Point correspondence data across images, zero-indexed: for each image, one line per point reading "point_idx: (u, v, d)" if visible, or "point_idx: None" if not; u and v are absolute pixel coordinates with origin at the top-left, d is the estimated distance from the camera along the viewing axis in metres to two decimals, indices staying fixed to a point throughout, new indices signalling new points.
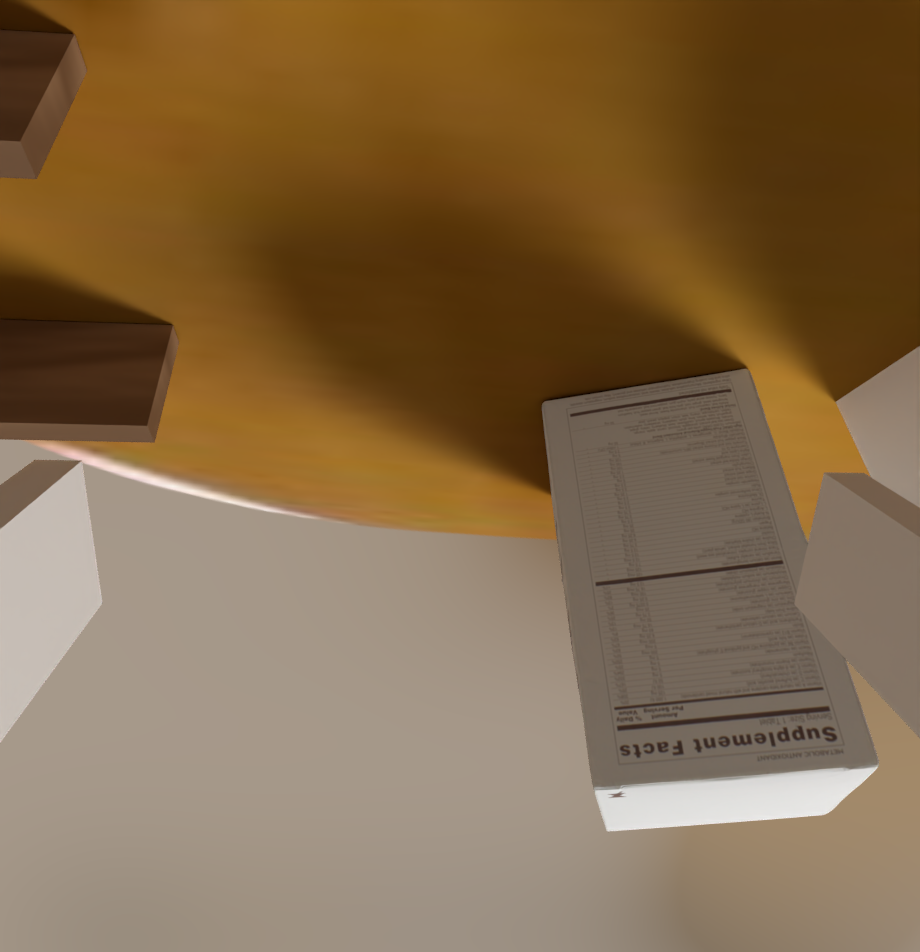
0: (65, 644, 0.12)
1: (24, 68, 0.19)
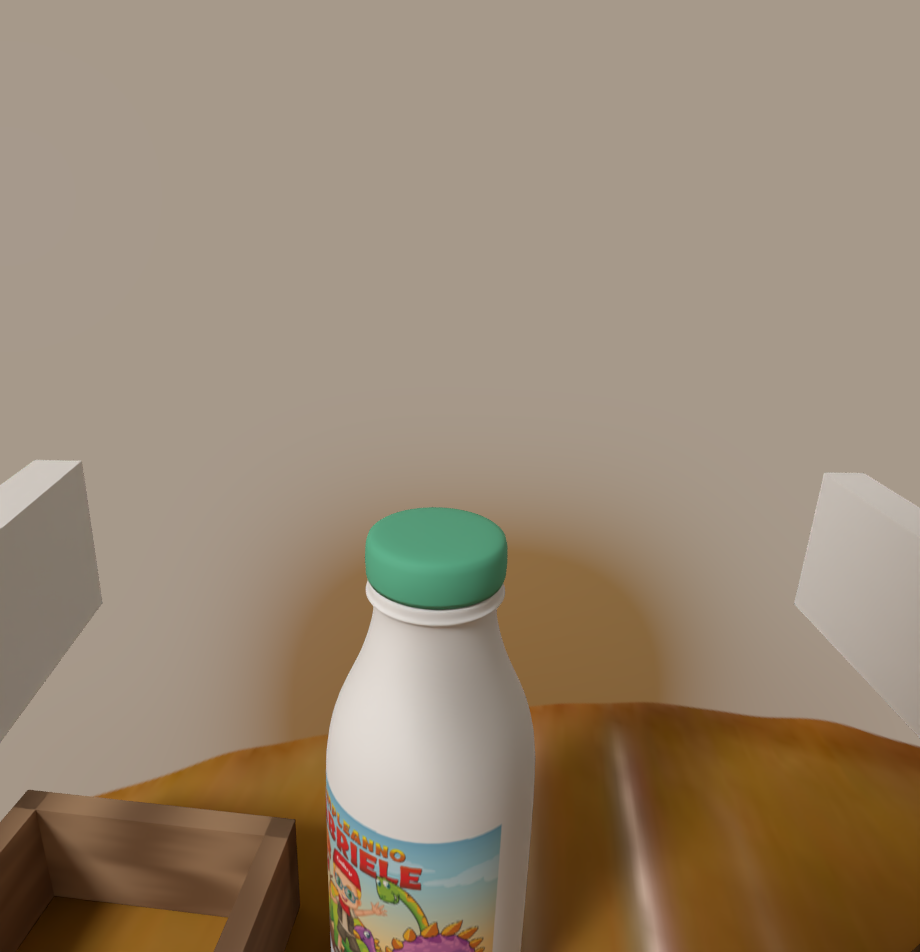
0: (65, 644, 0.12)
1: None
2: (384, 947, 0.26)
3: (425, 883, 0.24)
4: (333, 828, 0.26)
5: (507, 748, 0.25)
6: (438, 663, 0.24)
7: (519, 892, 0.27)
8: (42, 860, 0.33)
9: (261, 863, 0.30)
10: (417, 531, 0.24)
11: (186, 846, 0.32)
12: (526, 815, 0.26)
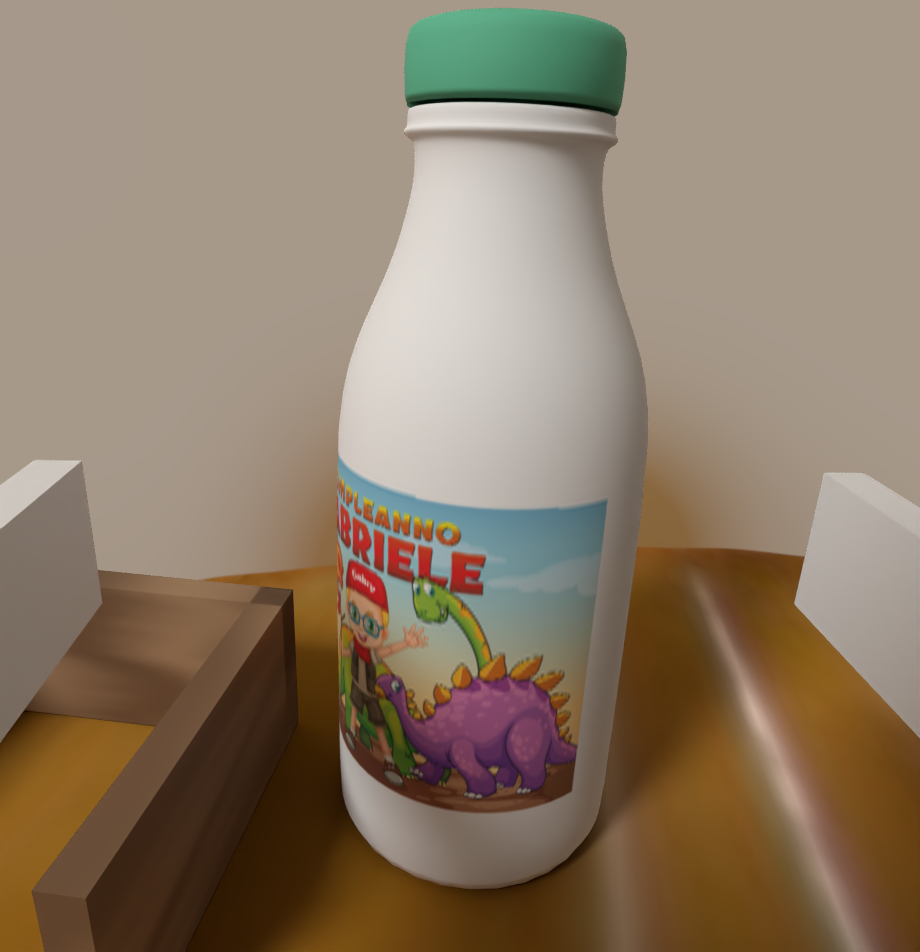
0: (65, 644, 0.12)
1: None
2: (422, 703, 0.17)
3: (490, 582, 0.16)
4: (347, 526, 0.17)
5: (619, 376, 0.16)
6: (517, 216, 0.15)
7: (618, 644, 0.19)
8: None
9: (244, 627, 0.21)
10: None
11: (143, 622, 0.23)
12: (636, 513, 0.17)
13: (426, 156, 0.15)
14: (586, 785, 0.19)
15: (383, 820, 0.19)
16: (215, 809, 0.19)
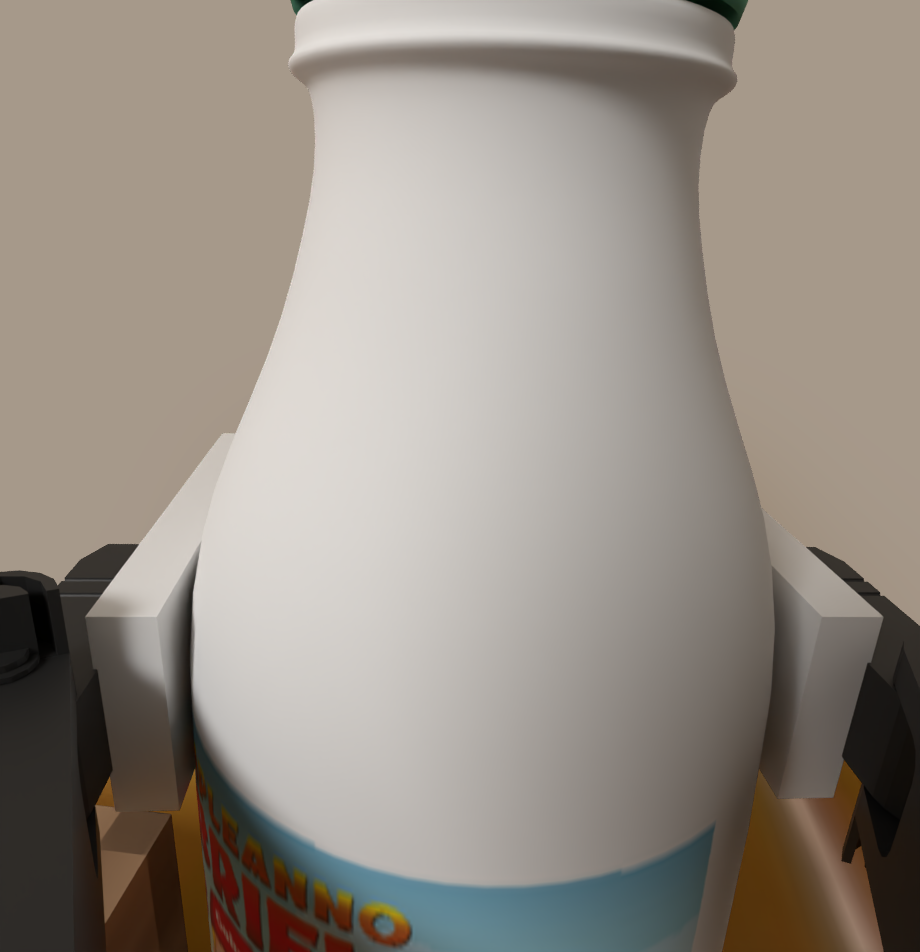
0: None
1: None
2: None
3: None
4: (204, 833, 0.09)
5: (742, 577, 0.08)
6: (531, 248, 0.07)
7: None
8: None
9: None
10: None
11: None
12: None
13: (330, 116, 0.07)
14: None
15: None
16: None
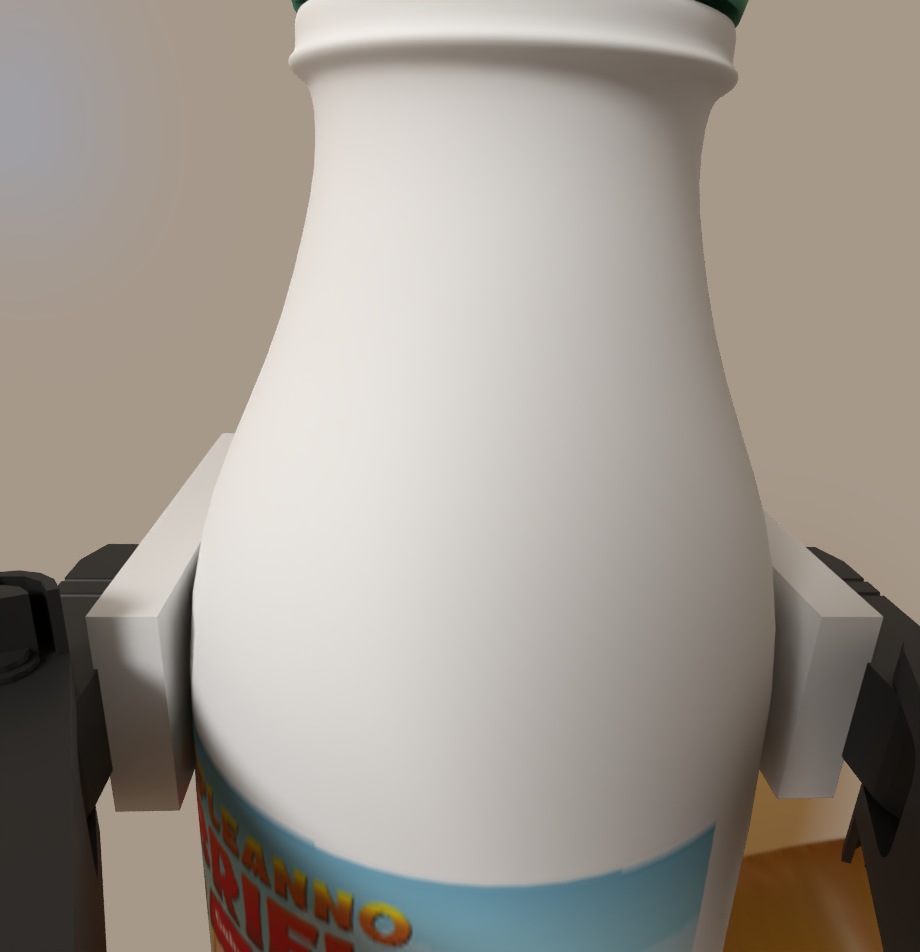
0: None
1: None
2: None
3: None
4: (204, 832, 0.09)
5: (743, 576, 0.08)
6: (532, 246, 0.07)
7: None
8: None
9: None
10: None
11: None
12: (753, 799, 0.09)
13: (330, 114, 0.07)
14: None
15: None
16: None
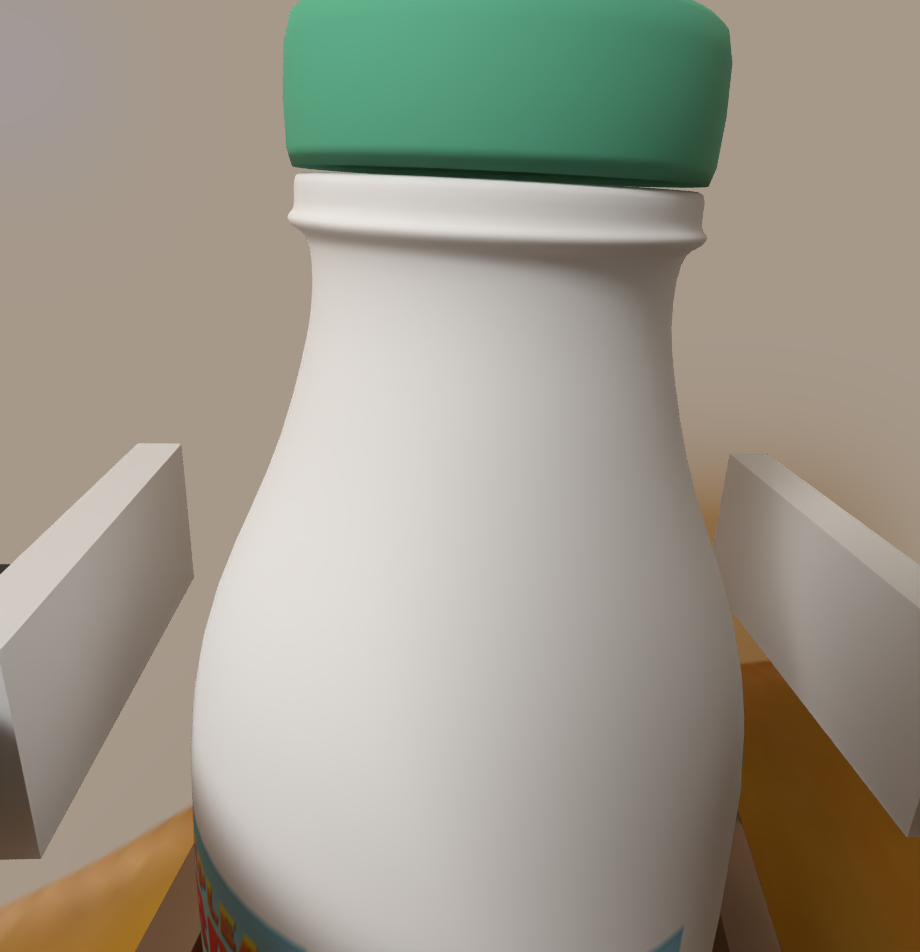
0: (170, 612, 0.13)
1: None
2: None
3: None
4: (203, 919, 0.10)
5: (709, 698, 0.08)
6: (511, 407, 0.07)
7: None
8: None
9: None
10: None
11: None
12: (723, 890, 0.10)
13: (326, 273, 0.08)
14: None
15: None
16: None
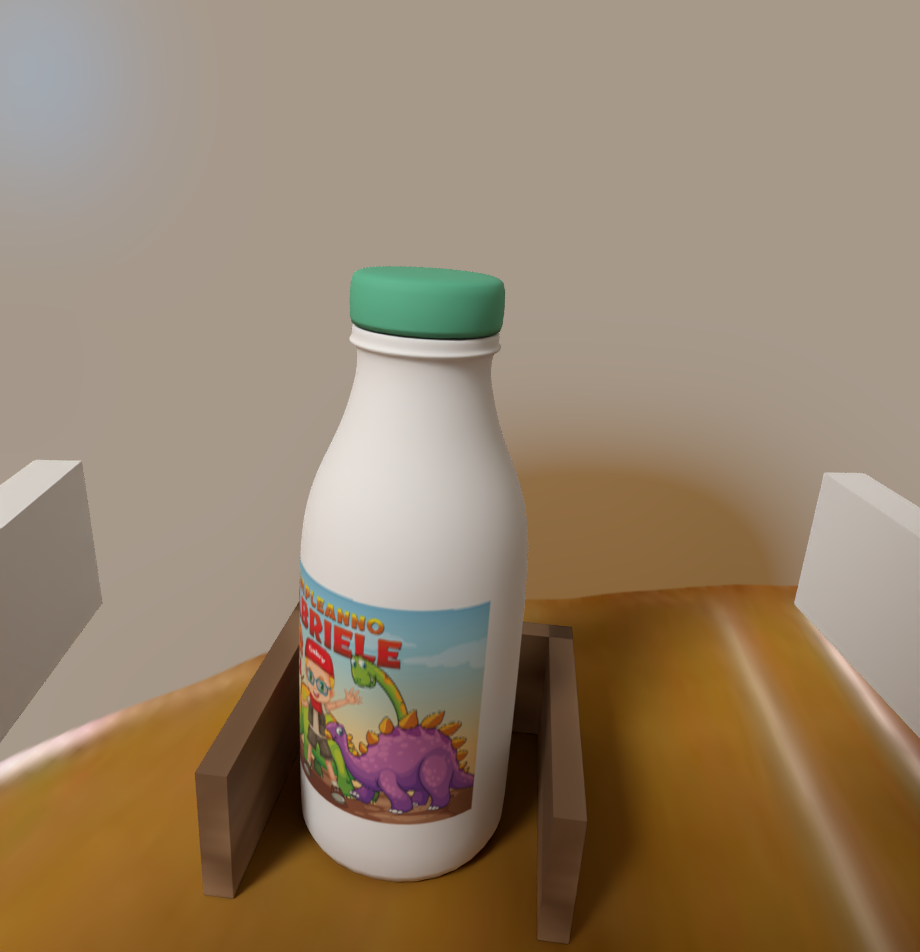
0: (65, 644, 0.12)
1: None
2: (358, 744, 0.24)
3: (405, 660, 0.22)
4: (306, 613, 0.24)
5: (499, 515, 0.22)
6: (425, 408, 0.21)
7: (507, 699, 0.25)
8: None
9: (558, 655, 0.30)
10: (407, 270, 0.22)
11: None
12: (517, 606, 0.24)
13: (364, 361, 0.22)
14: (483, 803, 0.26)
15: (330, 829, 0.25)
16: None
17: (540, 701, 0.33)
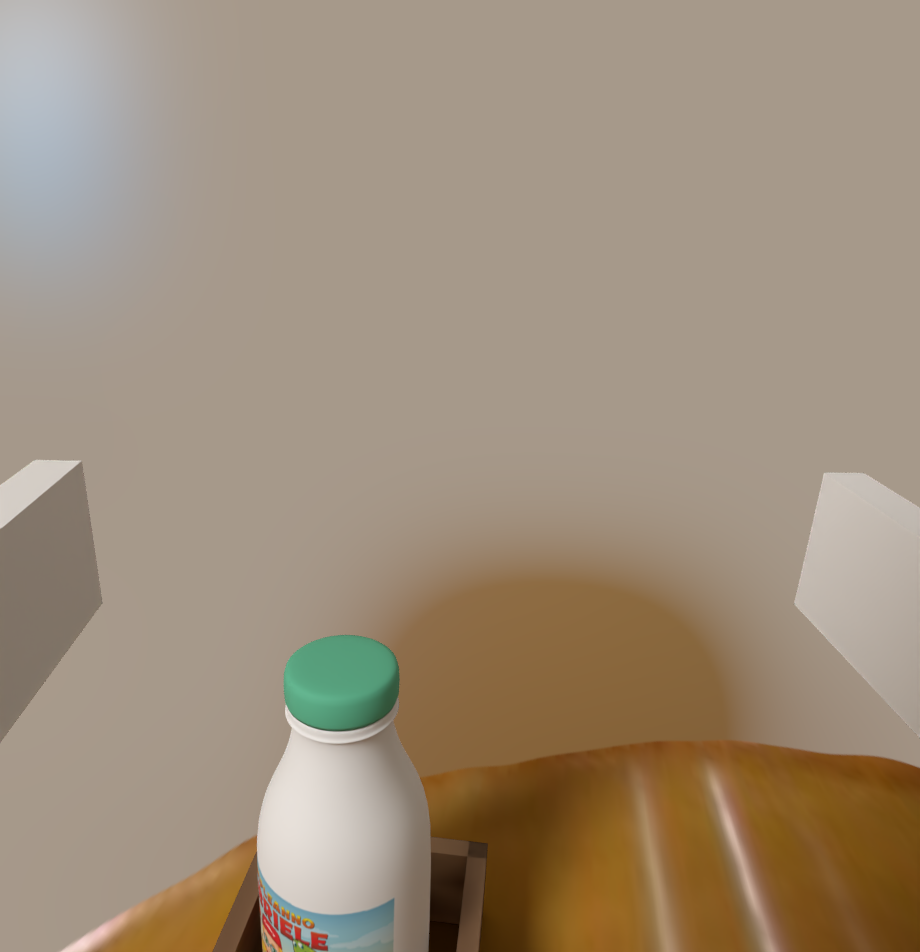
0: (65, 644, 0.12)
1: None
2: None
3: (331, 945, 0.30)
4: (261, 897, 0.32)
5: (398, 836, 0.30)
6: (339, 771, 0.29)
7: (416, 949, 0.33)
8: None
9: (472, 878, 0.38)
10: (325, 662, 0.30)
11: None
12: (419, 887, 0.32)
13: (295, 730, 0.30)
14: None
15: None
16: None
17: None
